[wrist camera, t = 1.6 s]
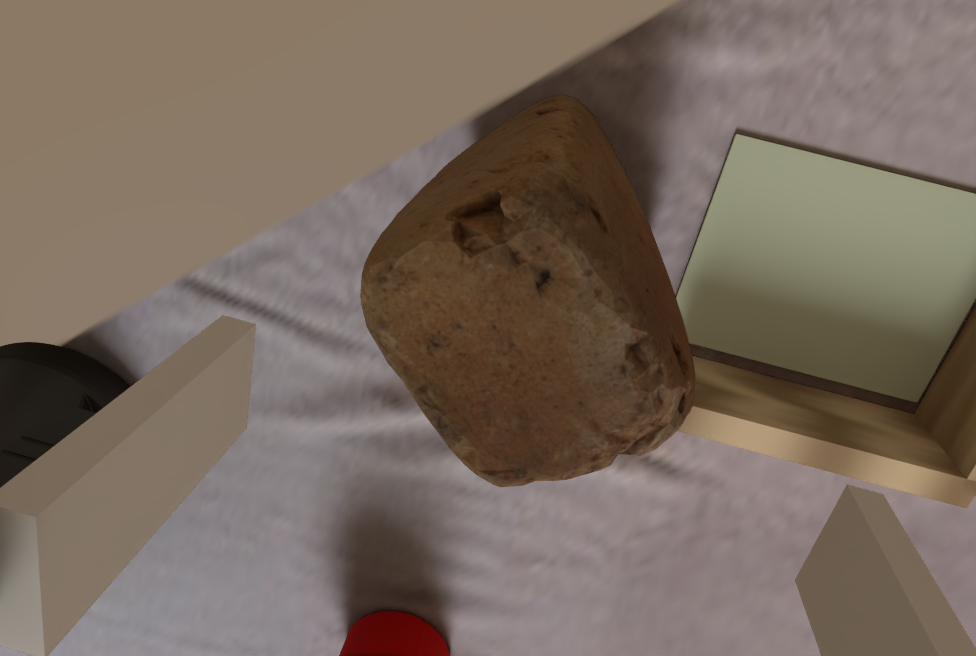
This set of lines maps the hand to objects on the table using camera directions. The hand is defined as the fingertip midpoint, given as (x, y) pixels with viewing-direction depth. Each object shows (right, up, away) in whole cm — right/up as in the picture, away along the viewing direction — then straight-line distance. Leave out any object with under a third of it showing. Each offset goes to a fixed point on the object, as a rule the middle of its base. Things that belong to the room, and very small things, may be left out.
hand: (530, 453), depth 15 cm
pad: (+17, +6, +20) cm, 27 cm away
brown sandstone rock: (+3, +9, +21) cm, 23 cm away
